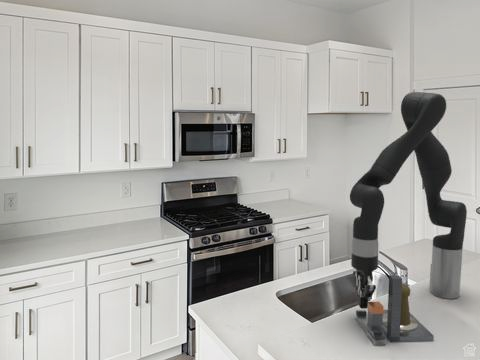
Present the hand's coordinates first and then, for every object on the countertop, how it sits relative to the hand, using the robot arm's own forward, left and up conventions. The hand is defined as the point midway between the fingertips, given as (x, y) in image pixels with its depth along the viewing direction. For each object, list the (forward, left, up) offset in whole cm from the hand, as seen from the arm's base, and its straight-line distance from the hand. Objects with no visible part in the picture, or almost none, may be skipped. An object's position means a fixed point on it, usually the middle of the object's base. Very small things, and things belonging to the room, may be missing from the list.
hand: (363, 307), depth 116 cm
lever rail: (+6, 0, -4) cm, 7 cm away
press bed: (+4, +9, -4) cm, 11 cm away
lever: (+10, 0, -3) cm, 10 cm away
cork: (+4, +9, -3) cm, 11 cm away
